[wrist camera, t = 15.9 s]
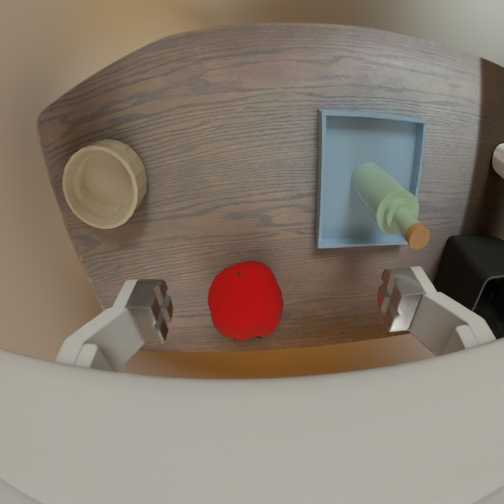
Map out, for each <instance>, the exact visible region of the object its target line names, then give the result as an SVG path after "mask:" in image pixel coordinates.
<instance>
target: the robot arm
mask: <svg viewBox="0 0 504 504" xmlns="http://www.w3.org/2000/svg"><path fill="white" fill-rule="evenodd" d="M382 280H383V282H384V283H383V284H382V285H381V286H380V287H379V290H378V305H379V308H380V311H381V312H383V313H384V314H386V315H385V318H384V320H385V323H386V325H387V328H388V330H389V332H395V331H404V330H409V332H410V333H411V334H412V335H414V336H415V337H416V338H417V339H418V340H419V341H420V342H421V343H422V344H423V345H424V346H426V347H427V348H428V349H429V350H430V351H431V352H432V353H433V354H434V355H435V356H436V357H431V358H427V359H423V360H417V361H412V362H407V363H402V364H397V365H391V366H385V367H379V368H372V369H366V370H358V371H351V372H343V373H334V374H324V375H313V376H302V377H286V378H263V379H200V378H199V379H198V378H177V377H162V376H150V375H139V374H129V373H121V372H118V371H119V370H120V369H121V368H122V367H123V366H124V365H125V364H126V363H127V361H128V360H129V359H130V358H131V357H132V356H133V355H134V354H135V353H136V352H137V351H138V350H139V349H140V348H141V347H142V346H143V345H144V343H165V340H166V336H167V333H168V328H167V324H168V323H169V322H170V321H171V318H172V311H173V307H172V301H171V298H170V296H168V295H167V294H166V291H167V285H166V282H165V281H164V280H156V279H139V280H127V281H125V283H124V285H123V287H122V289H121V291H120V293H119V295H118V297H117V299H116V300H115V302H114V304H113V307H112V308H107V309H106V310H105V311H103V312H102V313H101V314H99V315H98V316H96V317H95V318H94V319H92V320H91V321H90V322H88V323H87V324H85V325H84V326H83V327H82V328H80V329H79V330H77V331H76V332H75V333H73V334H72V335H71V336H69V337H68V338H67V339H65V341H64V343H63V345H62V347H61V349H60V351H59V353H58V355H57V357H56V359H55V361H54V362H53V361H48V360H44V359H39V358H35V357H30V356H27V355H23V354H19V353H15V352H11V351H8V350H4V349H1V348H0V504H504V337H503V338H500V339H497V340H496V338H495V336H494V335H493V333H492V331H491V330H490V328H489V326H488V325H487V323H486V321H485V320H484V319H483V318H482V317H480V316H479V315H477V314H475V313H474V312H472V311H471V310H469V309H467V308H466V307H464V306H463V305H461V304H460V303H458V302H456V301H455V300H453V299H451V298H450V297H448V296H446V295H445V294H443V293H442V292H437V291H436V289H435V288H434V286H433V284H432V283H431V281H430V280H429V278H428V277H427V275H426V274H425V272H424V271H423V269H422V268H421V267H420V266H414V267H407V268H396V269H385V270H384V272H383V274H382Z"/></svg>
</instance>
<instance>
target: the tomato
mask: <svg viewBox="0 0 504 504" xmlns="http://www.w3.org/2000/svg"><path fill="white" fill-rule="evenodd" d="M208 305H209V308H210V311H211V315H212V320H213V324H214V325H215V327H216V328H217V330H218V331H219V332H220V333H221V334H222V335H224V336H226V337H228V338H230V339H234V340H241V341H245V340H248V339H251V338H253V337H258V338H261V337H259V336H268V335H270V334H271V333H273V332H274V330H275V329H276V327H277V325H278V324H279V322H280V320H281V315H282V310H283V299H282V294H281V290H280V288H279V285H278V283H277V281H276V279H275V277H274V274H273V273H272V271H271V270H270V268H269V267H267V266H266V265H264V264H262V263H259V262H253V261H249V262H243V263H237V264H235V265H233V266H230V267H228V268H225V269H224V270H223V271H222V272H220V273H219V274H218V275H217V276H216V277H215V279H214V281H213V282H212V285H211V287H210V289H209V296H208ZM261 339H262V338H261Z"/></svg>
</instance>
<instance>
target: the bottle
mask: <svg viewBox="0 0 504 504" xmlns="http://www.w3.org/2000/svg"><path fill="white" fill-rule="evenodd" d="M351 185H352V189H353V191H354V192H355V194H356V195H357V196H358V198H359V199H360V201H361V202H362V203H363V205H364V206H365V207H366V209H367V210H368V212H369V213H370V214H371V216H372V217H373V219H374V220H375V222H376V223H377V224H378V226H379V227H380V229H381V230H382V231H384V232H385V233H388V234H393V235H395V234H400V233H401V234H402V235H403V237H404V238H405V239H406V241H407V243H408V244H409V246H410V247H411V248H412V249H415V250H419V249H422V248H423V247H425V246H426V245H427V243H428V242H429V239H430V232H429V231H428V229H427V228H426V227H425V226H424V225H423V224H422V223H421V222H420V221H419V220H418V219H417V217H418V214H419V204H418V201H417V199H416V197H415V196H414V195H413V194H412V193H411V192H410V191H409V190H408V189H407V188H406V187H404V186H403V185H402V184H401V183H400V182H399V181H398V180H397V179H395V178H394V177H393V176H392V175H391V174H390V173H389V172H387V171H386V170H385V169H384V168H383V167H381V166H380V165H379V164H377V163H372V162H369V163H364V164H362V165H360V166H359V167H358V168H357V169H356V170H355V171H354V173H353V175H352V179H351Z"/></svg>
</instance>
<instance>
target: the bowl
mask: <svg viewBox="0 0 504 504" xmlns="http://www.w3.org/2000/svg"><path fill="white" fill-rule="evenodd" d="M62 181H63V192H64V195H65V199H66V201H67V203H68V205H69V207H70V208H71V210H72V211H73V213H74V214H75V215H76V216H77V217H78V218H79V219H80V220H81V221H83V222H85V223H87V224H88V225H90V226H92V227H96V228H100V229H111V228H116V227H118V226H120V225H122V224H124V223H125V222H126V221H127V220H128V219H129V218H130V217H131V216H132V215H133V213H134V212H135V211H136V210H137V208H138V207H139V206H140V204H141V203H142V201H143V199H144V196H145V194H146V189H147V176H146V171H145V168H144V165H143V163H142V161H141V159H140V157H139V156H138V155H137V154H136V153H135V152H134V151H133V150H132V148H131V147H129V146H128V145H126V144H124V143H122V142H120V141H118V140H112V139H102V140H98V141H95V142H93V143H91V144H89V145H87V146H85V147H83V148H82V149H80V150H79V151H77V152H76V153H74V154H73V155H72V156H71V158H70V159H69V161H68V162H67V164H66V165H65V169H64V173H63V177H62Z"/></svg>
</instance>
